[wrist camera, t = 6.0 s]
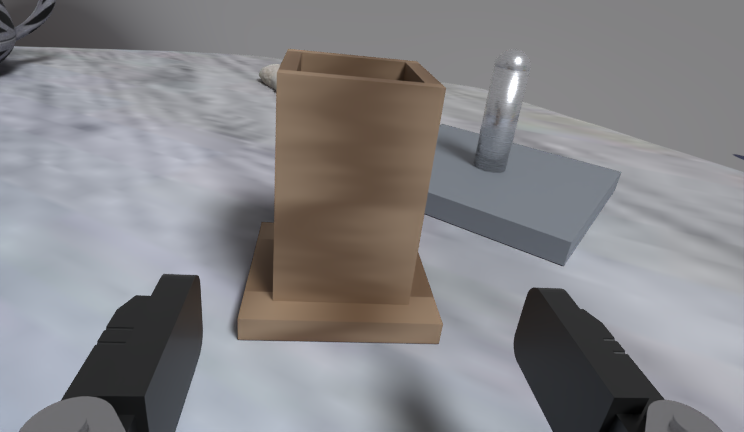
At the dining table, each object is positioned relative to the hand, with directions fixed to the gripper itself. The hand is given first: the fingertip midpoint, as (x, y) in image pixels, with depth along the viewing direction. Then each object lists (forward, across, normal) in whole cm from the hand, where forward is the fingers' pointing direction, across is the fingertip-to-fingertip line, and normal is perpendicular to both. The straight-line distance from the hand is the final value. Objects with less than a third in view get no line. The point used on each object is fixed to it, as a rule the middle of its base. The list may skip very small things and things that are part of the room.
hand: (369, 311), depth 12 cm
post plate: (+23, +12, -6) cm, 27 cm away
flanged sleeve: (+10, 0, -6) cm, 11 cm away
